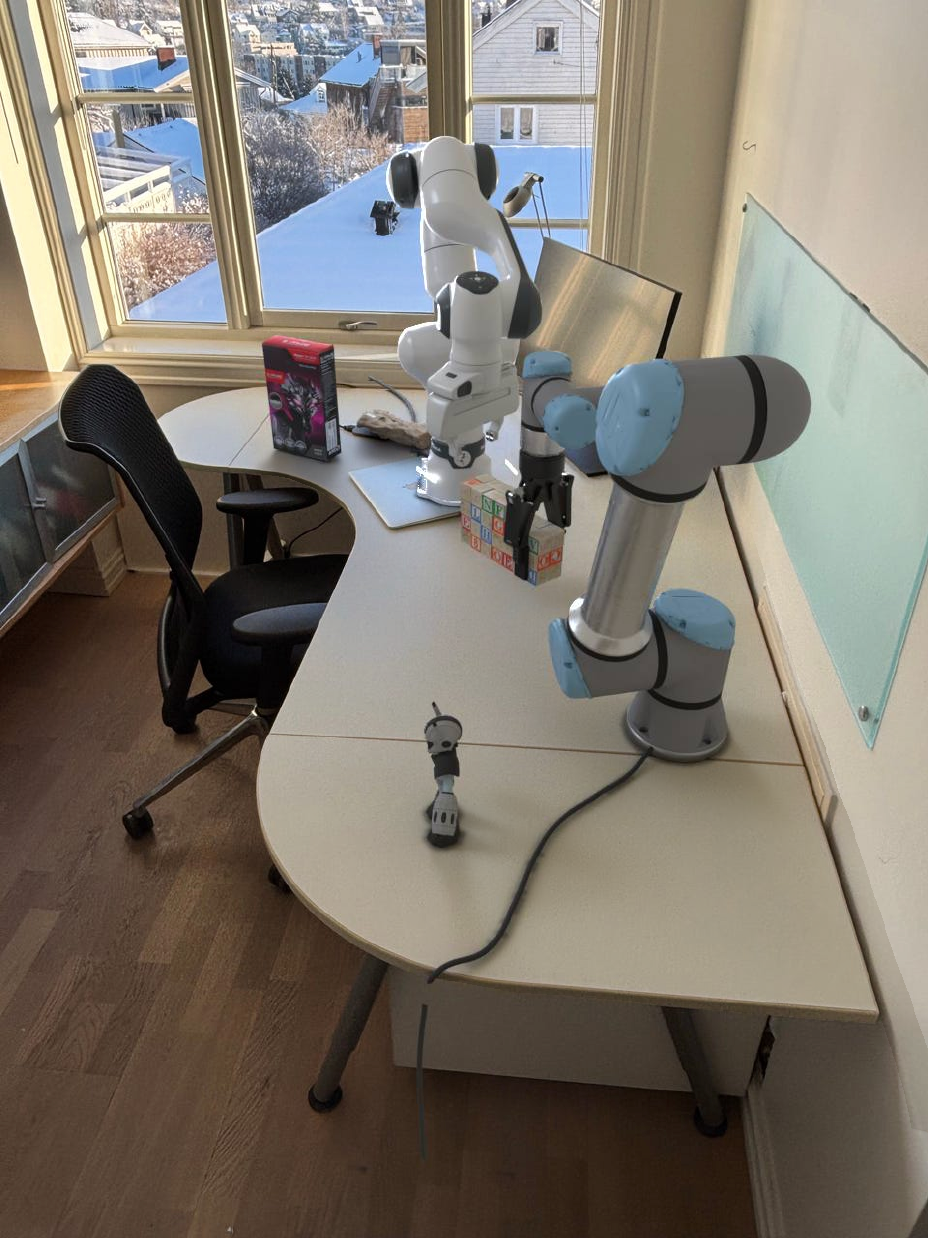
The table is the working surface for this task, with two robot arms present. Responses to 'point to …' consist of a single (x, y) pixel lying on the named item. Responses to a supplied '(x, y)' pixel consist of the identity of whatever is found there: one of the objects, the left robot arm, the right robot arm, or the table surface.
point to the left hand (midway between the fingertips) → (473, 447)
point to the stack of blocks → (487, 526)
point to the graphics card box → (302, 396)
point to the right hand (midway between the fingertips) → (535, 570)
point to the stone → (395, 428)
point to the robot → (443, 777)
